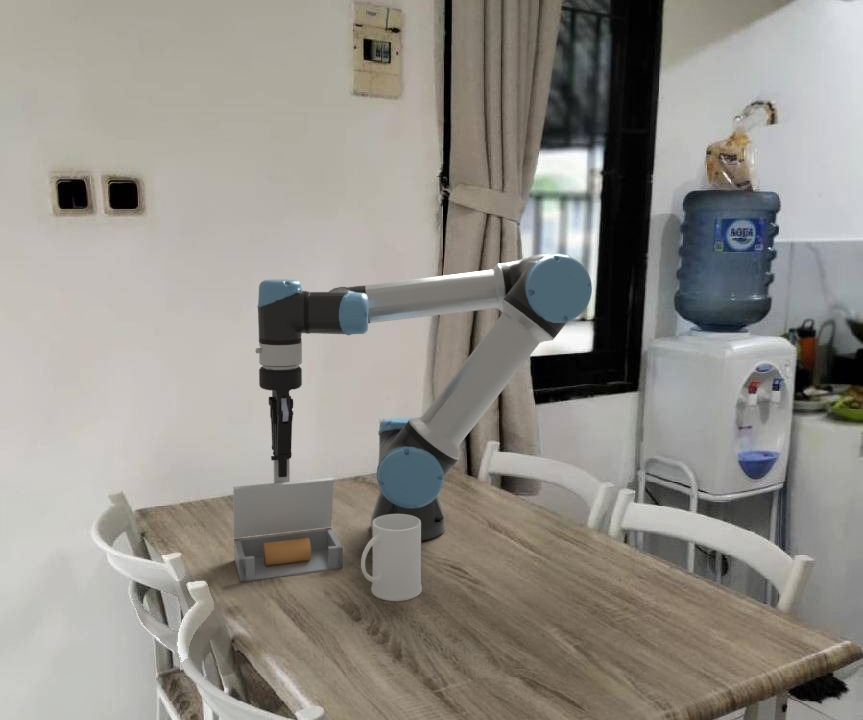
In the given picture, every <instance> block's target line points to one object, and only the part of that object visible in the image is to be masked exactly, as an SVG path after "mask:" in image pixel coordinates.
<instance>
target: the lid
mask: <svg viewBox="0 0 863 720" xmlns="http://www.w3.org/2000/svg"><path fill="white" fill-rule="evenodd" d="M334 482H335V481H334V477H326V478H325V477H324V478H315V479H302V480H294V481H293V480H291V481H290V482H281V483H274V482H272V483H271V482H270V483H263V484H262V483H261V484H253V485H252V484H251V485H239V486H233V487H232V490H233V491H232V493H233V497H232V498H233V517H232V518H233V538H234V539H239V538H247V537H256V536H265V535H273V534H282V533H291V532H299V531H308V530H317V529H325V528H332V520H333V519H332V517H333V516H332V514H333V499H334V484H335V483H334Z"/></svg>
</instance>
